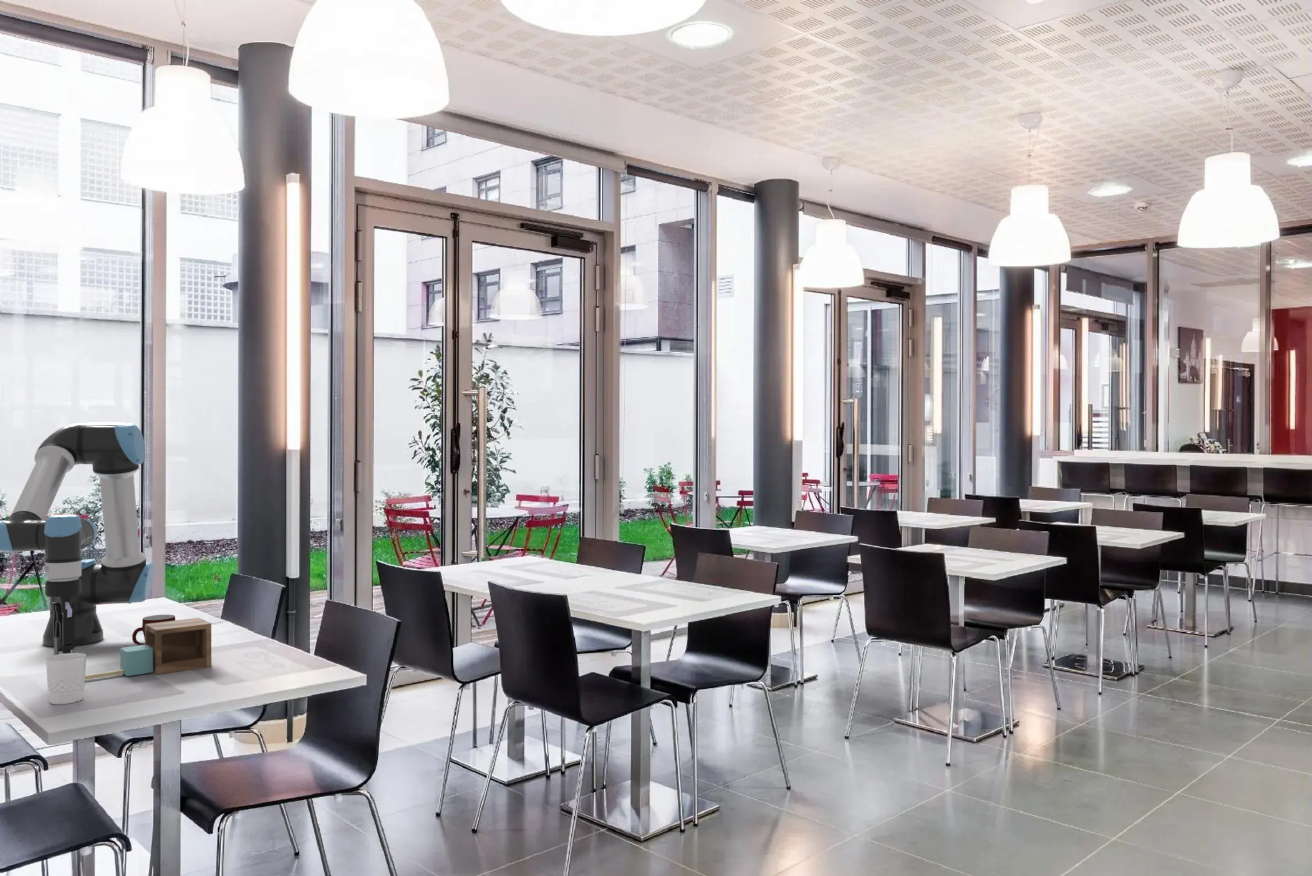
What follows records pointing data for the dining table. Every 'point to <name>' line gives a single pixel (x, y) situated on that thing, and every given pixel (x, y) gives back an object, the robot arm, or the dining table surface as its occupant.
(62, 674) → the white cup
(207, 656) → the shelf
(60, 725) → the dining table surface
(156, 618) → the mug
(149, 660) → the double-ended block stick
